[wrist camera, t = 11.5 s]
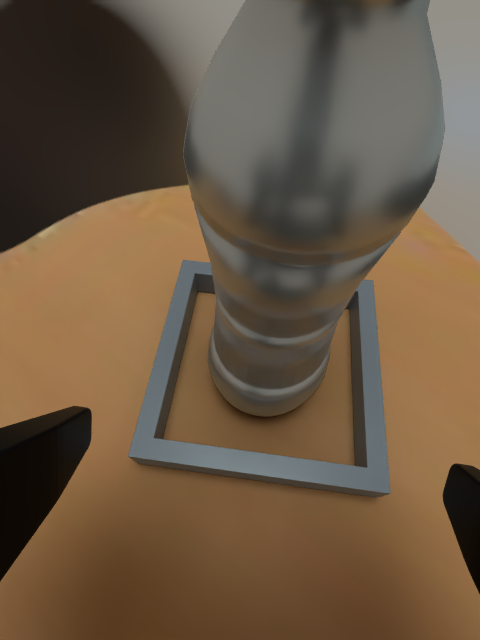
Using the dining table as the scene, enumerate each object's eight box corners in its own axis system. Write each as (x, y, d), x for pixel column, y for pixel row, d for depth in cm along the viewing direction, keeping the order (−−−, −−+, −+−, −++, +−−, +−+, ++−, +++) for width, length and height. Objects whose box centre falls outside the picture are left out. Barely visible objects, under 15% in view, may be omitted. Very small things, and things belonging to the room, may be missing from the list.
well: (375, 497, 18) (390, 493, 16) (137, 463, 19) (127, 456, 17) (363, 298, 25) (373, 280, 23) (186, 278, 25) (182, 259, 24)
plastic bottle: (187, 382, 21) (-5, -252, 4) (255, 307, 24) (307, -252, 7) (276, 451, 19) (619, -212, 2) (338, 361, 22) (700, -236, 5)
